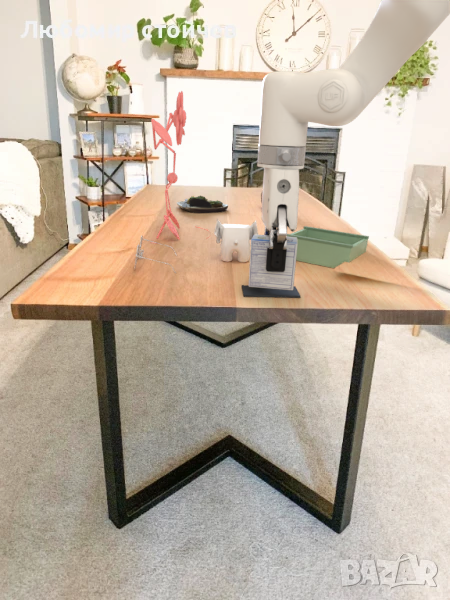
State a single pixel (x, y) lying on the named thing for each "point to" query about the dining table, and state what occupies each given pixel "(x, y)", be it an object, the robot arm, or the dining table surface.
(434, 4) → the robot arm
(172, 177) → the figurine
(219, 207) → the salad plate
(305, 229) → the basket
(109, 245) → the dining table surface
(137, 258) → the sunglasses
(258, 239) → the medicine box
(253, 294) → the mat
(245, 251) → the elephant figurine
